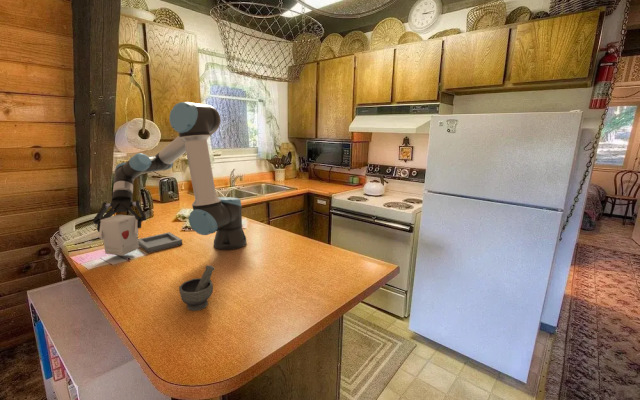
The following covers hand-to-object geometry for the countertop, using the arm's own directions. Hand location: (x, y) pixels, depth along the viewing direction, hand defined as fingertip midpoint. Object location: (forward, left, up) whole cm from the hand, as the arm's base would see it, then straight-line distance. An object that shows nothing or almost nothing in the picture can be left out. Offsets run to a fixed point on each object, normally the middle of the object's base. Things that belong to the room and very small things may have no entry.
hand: (119, 236), depth 125 cm
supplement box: (+2, -1, -8) cm, 8 cm away
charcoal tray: (+6, -17, -10) cm, 21 cm away
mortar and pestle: (-56, -7, -10) cm, 57 cm away
